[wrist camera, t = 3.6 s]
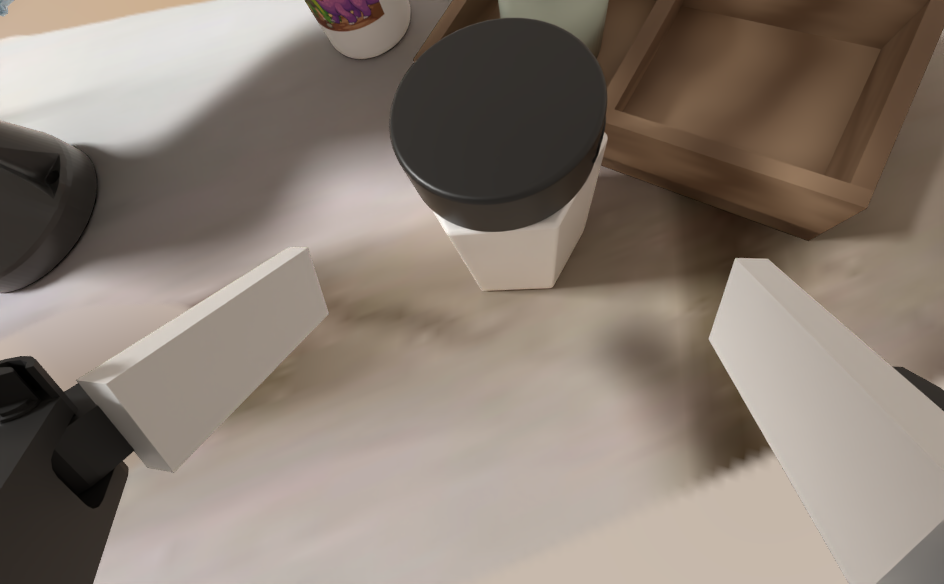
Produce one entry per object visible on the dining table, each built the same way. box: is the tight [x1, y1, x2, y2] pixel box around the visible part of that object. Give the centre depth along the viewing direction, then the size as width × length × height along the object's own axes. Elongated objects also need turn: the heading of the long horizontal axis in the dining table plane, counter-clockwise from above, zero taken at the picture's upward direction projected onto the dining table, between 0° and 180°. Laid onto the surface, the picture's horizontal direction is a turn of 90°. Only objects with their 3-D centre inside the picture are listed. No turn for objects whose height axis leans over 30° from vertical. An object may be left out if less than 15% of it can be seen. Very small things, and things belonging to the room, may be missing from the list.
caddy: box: [413, 0, 944, 241], centre depth 24 cm, size 27×14×4 cm, turn 60°
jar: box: [389, 18, 608, 291], centre depth 19 cm, size 9×8×12 cm
